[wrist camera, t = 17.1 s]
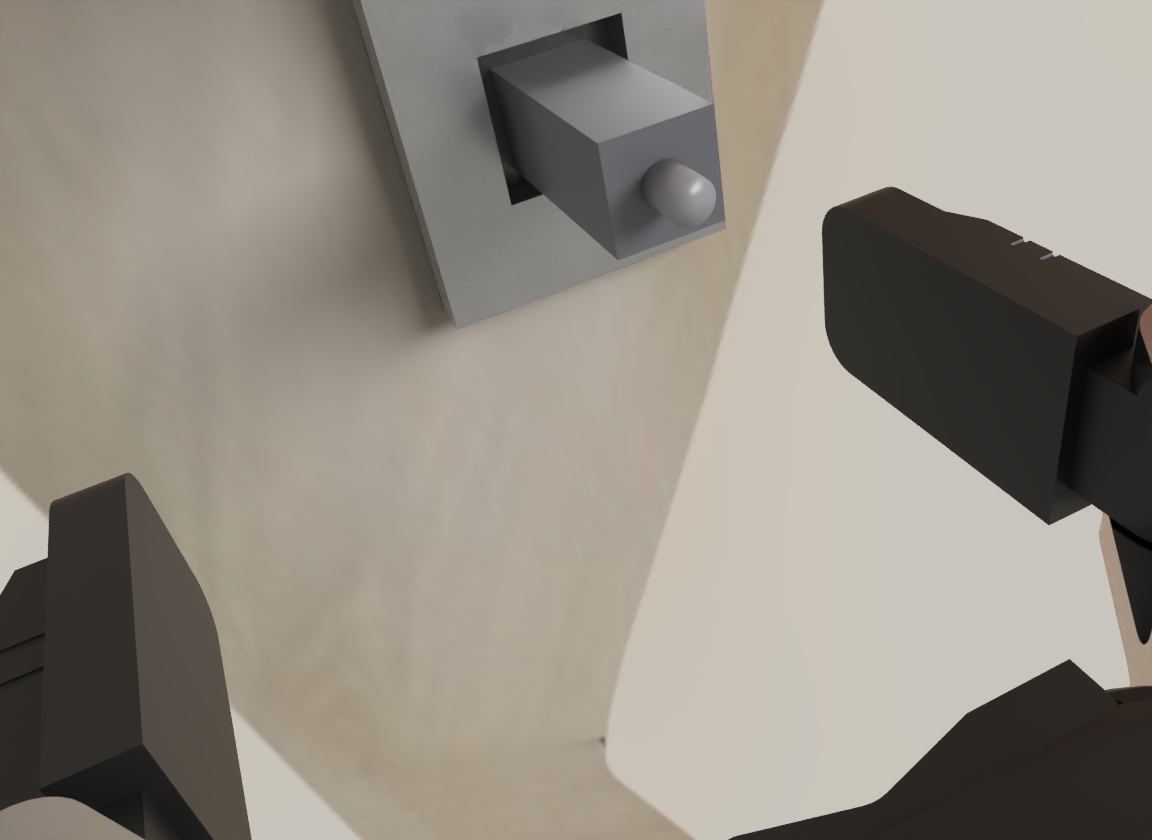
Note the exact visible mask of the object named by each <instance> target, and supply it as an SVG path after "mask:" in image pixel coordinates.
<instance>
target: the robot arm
mask: <svg viewBox="0 0 1152 840" xmlns="http://www.w3.org/2000/svg"><path fill="white" fill-rule="evenodd" d="M822 242H823V243H822V245H823V276H824V307H825V328H826V332H827V336H828V340H829V343H830V346H831V348H832V350H833V352H834V354H835V356H836V357H837V359H838V360H839V362H840V363H841V365H842V366H843V367H844V368H845V369H846V370H847V371H848V372H849V373H850V374H852V375H853V376H854V377H856V378H857V379H858V380H860V381H861V382H862V383H863V384H865V385H866V386H867V387H869V388H870V389H871V390H873V391H874V392H875V393H877V394H878V395H879V396H881V397H882V398H883V399H885V400H886V401H887V402H888V403H890V404H891V405H893V406H894V407H895V408H897V409H898V410H899V411H900V412H902V413H903V414H904V415H906V416H907V417H908V418H909V419H911V420H912V421H913V422H915V423H916V424H917V425H919V426H920V427H921V428H922V429H924V430H925V431H926V432H928V433H929V434H931V435H932V436H933V437H934V438H935V439H937V440H938V441H939V442H941V443H942V444H943V445H945V446H946V447H947V448H949V449H950V450H951V451H952V452H954V453H955V454H956V455H958V456H959V457H960V458H962V459H963V460H964V461H966V462H967V463H968V464H969V465H971V466H972V467H973V468H975V469H976V470H978V471H979V472H980V473H981V474H983V475H984V476H985V477H987V478H988V479H989V480H990V481H992V482H993V483H995V484H996V485H997V486H998V487H1000V488H1001V489H1002V490H1003V491H1005V492H1006V493H1007V494H1009V495H1010V496H1011V497H1013V498H1014V499H1015V500H1017V501H1018V502H1019V503H1021V504H1022V505H1023V506H1025V507H1026V508H1027V509H1028V510H1030V511H1031V512H1032V513H1034V514H1035V515H1036V516H1038V517H1039V518H1040V519H1041V520H1043V521H1044V522H1045V523H1047V524H1048V525H1050V524H1053V523H1054V522H1057V521H1059V520H1061V519H1063V518H1065V517H1067V516H1069V515H1071V514H1073V513H1075V512H1077V511H1079V510H1081V509H1083V508H1085V507H1087V506H1089V505H1091V504H1093V505H1094V506H1095V507H1097V508H1098V509H1100V510H1101V511H1102V512H1103V516H1102V521H1101V526H1100V531H1099V538H1100V544H1101V548H1102V553H1103V557H1104V562H1105V566H1106V571H1107V575H1108V580H1109V584H1110V589H1111V593H1112V597H1113V602H1114V607H1115V611H1116V615H1117V620H1118V624H1119V629H1120V633H1121V638H1122V642H1123V647H1124V651H1125V656H1126V660H1127V664H1128V670H1129V675H1130V687H1126V688H1116V689H1109V690H1104V689H1103V688H1102V687H1100V686H1099V685H1098V684H1097V683H1096V682H1095V681H1094V680H1093V679H1091V678H1090V677H1089V676H1088V675H1087V674H1086V673H1085V672H1083V671H1082V670H1081V669H1080V668H1079V667H1078V666H1077V665H1076V664H1074V663H1073V662H1072V661H1071V660H1070V659H1069V660H1067V661H1065V662H1063V663H1061V664H1059V665H1058V666H1056V667H1054V668H1052V669H1050V670H1048V671H1047V672H1045V673H1042V674H1041V675H1039V676H1037V677H1035V678H1033V679H1031V680H1029V681H1027V682H1026V683H1024V684H1022V685H1020V686H1018V687H1016V688H1014V689H1012V690H1010V691H1008V692H1007V693H1005V694H1003V695H1001V696H999V697H997V698H995V699H993V700H991V701H990V702H988V703H986V704H984V705H982V706H980V707H978V708H976V709H975V710H973V711H971V712H969V713H967V714H966V715H965V716H964V717H963V718H962V719H961V720H960V721H959V722H958V723H957V724H956V725H955V726H954V727H953V728H952V729H951V730H950V731H949V732H948V733H947V734H946V735H945V736H944V737H943V738H942V739H941V740H940V741H939V742H938V743H937V744H936V745H935V746H934V747H933V748H932V749H931V750H930V751H929V752H928V753H927V754H926V755H925V756H924V757H923V758H922V759H921V760H920V761H919V762H918V763H917V764H916V765H915V766H914V767H913V768H912V769H911V770H910V771H909V772H908V773H907V774H906V775H905V776H904V777H903V778H902V779H901V780H899V781H898V783H896V784H895V785H894V787H892V789H891V790H889V791H888V792H887V793H886V794H885V795H884V796H883V797H881V798H880V799H878V800H877V801H875V802H873V803H871V804H868V805H865V806H861V807H857V808H853V809H849V810H845V811H840V812H836V813H832V814H828V815H824V816H819V817H815V818H811V819H806V820H802V821H798V822H794V823H790V824H785V825H782V826H777V827H773V828H769V829H764V830H760V831H756V832H752V833H748V834H743V835H739V836H736V837H733V838H731V839H729V840H1152V299H1150V298H1148V297H1146V296H1144V295H1142V294H1140V293H1138V292H1136V291H1134V290H1131V289H1129V288H1127V287H1125V286H1123V285H1121V284H1119V283H1117V282H1115V281H1113V280H1111V279H1109V278H1107V277H1104V276H1102V275H1100V274H1098V273H1096V272H1094V271H1092V270H1090V269H1088V268H1086V267H1083V266H1082V265H1080V264H1077V263H1075V262H1073V261H1071V260H1069V259H1067V258H1065V257H1063V256H1061V255H1059V256H1056V257H1054V256H1053V254H1052V251H1050V250H1048V249H1046V248H1044V247H1042V246H1040V245H1038V244H1036V243H1034V242H1032V241H1028V242H1026V243H1025V242H1024V240H1023V237H1021V236H1019V235H1017V234H1015V233H1013V232H1011V231H1009V230H1007V229H1005V228H1003V227H1001V226H998V225H996V224H994V223H992V222H990V221H988V220H984V219H980V218H975V217H970V216H964V215H960V214H955V213H950V212H945V211H942V210H940V209H938V208H936V207H934V206H932V205H930V204H928V203H926V202H924V201H922V200H920V199H918V198H916V197H914V196H912V195H910V194H908V193H906V192H904V191H902V190H900V189H898V188H895V187H886V188H883V189H880V190H878V191H875V192H872V193H870V194H867V195H865V196H862V197H859V198H857V199H854V200H851V201H849V202H846V203H844V204H841V205H838V206H836V207H833V208H832V209H830V210H829V211H828V212H827V214H826V215H825V218H824V221H823V226H822ZM0 840H252V839H251V833H250V828H249V821H248V815H247V809H246V803H245V797H244V791H243V785H242V779H241V773H240V768H239V761H238V755H237V749H236V742H235V736H234V730H233V724H232V718H231V712H230V706H229V700H228V694H227V688H226V682H225V676H224V670H223V664H222V658H221V652H220V646H219V639H218V634H217V630H216V626H215V623H214V619H213V616H212V613H211V611H210V608H209V605H208V603H207V600H206V598H205V596H204V593H203V591H202V589H201V587H200V585H199V583H198V581H197V579H196V578H195V576H194V574H193V572H192V571H191V569H190V567H189V566H188V564H187V562H186V560H185V559H184V557H183V555H182V554H181V552H180V550H179V549H178V547H177V545H176V543H175V542H174V540H173V538H172V537H171V535H170V533H169V531H168V530H167V528H166V526H165V525H164V523H163V521H162V519H161V518H160V516H159V514H158V513H157V511H156V509H155V508H154V506H153V504H152V502H151V501H150V499H149V497H148V496H147V494H146V492H145V491H144V489H143V487H142V486H141V484H140V483H139V482H138V480H137V479H136V478H135V477H134V476H133V475H132V474H130V473H126V474H123V475H121V476H118V477H115V478H113V479H110V480H107V481H105V482H102V483H99V484H97V485H94V486H91V487H89V488H86V489H84V490H81V491H78V492H76V493H73V494H70V495H68V496H65V497H62V498H60V499H57V500H55V501H53V502H52V503H51V505H50V511H49V539H48V558H46V559H43V560H41V561H38V562H36V563H33V564H31V565H28V566H25V567H23V568H20V569H18V570H15V571H14V573H13V575H12V576H11V578H10V580H9V582H8V583H7V585H6V586H5V588H4V590H3V591H2V593H1V595H0Z"/></svg>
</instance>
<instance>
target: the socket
mask: <svg viewBox="0 0 1152 840" xmlns="http://www.w3.org/2000/svg"><path fill="white" fill-rule="evenodd" d="M352 3H353V7H354V10H355V13H356V17H357V20H358V23H359V27H360V30H361V33H362V37H363V40H364V43H365V47H366V50H367V53H368V57H369V60H370V63H371V67H372V70H373V73H374V77H375V80H376V83H377V87H378V90H379V93H380V97H381V100H382V103H383V107H384V110H385V113H386V117H387V120H388V123H389V127H390V130H391V134H392V137H393V140H394V144H395V147H396V150H397V154H398V157H399V160H400V164H401V167H402V170H403V174H404V177H405V180H406V184H407V187H408V190H409V194H410V197H411V200H412V204H413V207H414V210H415V214H416V217H417V220H418V224H419V227H420V230H421V234H422V237H423V240H424V244H425V247H426V250H427V254H428V257H429V260H430V264H431V267H432V270H433V274H434V277H435V280H436V284H437V287H438V290H439V294H440V297H441V300H442V304H443V307H444V310H445V312H446V314H447V315H448V316H449V318H450V319H451V321H452V322H453V324H454V325H455V326H456V328H457V329H459V328H462V327H464V326H467V325H470V324H472V323H475V322H478V321H480V320H483V319H486V318H488V317H491V316H494V315H496V314H499V313H502V312H504V311H507V310H510V309H512V308H515V307H518V306H520V305H523V304H526V303H529V302H531V301H534V300H537V299H539V298H542V297H545V296H547V295H550V294H553V293H555V292H558V291H561V290H563V289H566V288H569V287H571V286H574V285H577V284H579V283H582V282H585V281H587V280H590V279H593V278H595V277H598V276H601V275H603V274H606V273H609V272H611V271H614V270H617V269H619V268H622V267H625V266H627V265H630V264H633V263H635V262H638V261H641V260H643V259H646V258H649V257H651V256H654V255H657V254H659V253H662V252H665V251H667V250H670V249H673V248H675V247H678V246H681V245H683V244H686V243H689V242H691V241H694V240H697V239H699V238H702V237H705V236H708V235H710V234H713V233H716V232H718V231H721V230H724V229H726V224H725V221H722V222H720V223H717V224H714V225H712V226H709V227H706V228H704V229H701V230H698V231H696V232H693V233H690V234H688V235H685V236H682V237H680V238H677V239H674V240H672V241H669V242H666V243H664V244H661V245H658V246H656V247H653V248H650V249H648V250H645V251H642V252H640V253H637V254H634V255H632V256H629V257H626V258H623V259H621V260H617V259H616V258H615V257H614V256H612V255H611V254H610V253H609V252H608V251H607V250H606V249H605V248H603V247H602V246H601V245H600V244H599V243H598V242H597V241H595V240H594V239H593V238H592V237H591V236H590V235H589V234H588V233H586V232H585V231H584V230H583V229H582V228H581V227H580V226H578V225H577V224H576V223H575V222H574V221H573V220H572V219H571V218H569V217H568V216H567V215H566V214H565V213H564V212H563V211H562V210H560V209H559V208H558V207H557V206H556V205H555V204H554V203H552V202H551V201H550V200H549V199H548V198H547V197H546V196H545V195H543V194H542V193H541V192H540V191H539V190H538V189H537V188H535V187H534V186H533V185H532V184H531V183H530V182H529V181H528V180H526V179H525V178H524V177H523V176H522V175H521V174H520V173H519V172H517V171H516V170H515V169H514V168H513V165H512V160H511V156H510V152H509V147H508V143H507V139H506V134H505V130H504V126H503V121H502V117H501V113H500V109H499V104H498V100H497V96H496V91H495V87H494V83H493V78H492V74H491V70H490V69H492V68H495V67H499V66H502V65H505V64H508V63H511V62H514V61H517V60H521V59H524V58H527V57H530V56H533V55H536V54H539V53H543V52H546V51H549V50H552V49H555V48H558V47H561V46H565V45H568V44H571V43H574V42H577V41H580V40H583V39H587V40H589V41H591V42H593V43H595V44H597V45H599V46H601V47H603V48H605V49H607V50H609V51H611V52H613V53H614V54H616V55H618V56H620V57H622V58H624V59H626V60H628V61H630V62H632V63H634V64H636V65H638V66H640V67H642V68H644V69H646V70H648V71H650V72H652V73H654V74H656V75H658V76H660V77H662V78H664V79H666V80H668V81H670V82H672V83H674V84H676V85H678V86H680V87H682V88H684V89H686V90H688V91H690V92H692V93H694V94H696V95H698V96H700V97H702V98H704V99H706V100H708V101H710V102H712V103H714V99H713V89H712V78H711V68H710V57H709V47H708V36H707V26H706V16H705V5H704V0H352ZM714 111H715V109H714ZM715 121H716V120H715ZM716 131H717V130H716Z"/></svg>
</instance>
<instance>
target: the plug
mask: <svg viewBox="0 0 1152 840" xmlns="http://www.w3.org/2000/svg"><path fill="white" fill-rule="evenodd" d="M490 70H491V74H492V78H493V83H494V87H495V91H496V96H497V100H498V104H499V109H500V113H501V117H502V121H503V126H504V130H505V134H506V139H507V143H508V147H509V152H510V156H511V160H512V165H513V168H514V169H515V170H516V171H517V172H519V173H520V174H521V175H522V176H523V177H524V178H525V179H526V180H528V181H529V182H530V183H531V184H532V185H533V186H534V187H535V188H537V189H538V190H539V191H540V192H541V193H542V194H543V195H545V196H546V197H547V198H548V199H549V200H550V201H551V202H552V203H554V204H555V205H556V206H557V207H558V208H559V209H560V210H562V211H563V212H564V213H565V214H566V215H567V216H568V217H569V218H571V219H572V220H573V221H574V222H575V223H576V224H577V225H578V226H580V227H581V228H582V229H583V230H584V231H585V232H586V233H588V234H589V235H590V236H591V237H592V238H593V239H594V240H595V241H597V242H598V243H599V244H600V245H601V246H602V247H603V248H605V249H606V250H607V251H608V252H609V253H610V254H611V255H612V256H614V257H615V258H616V259H617V260H621V259H623V258H626V257H629V256H632V255H634V254H637V253H640V252H642V251H645V250H648V249H650V248H653V247H656V246H658V245H661V244H664V243H666V242H669V241H672V240H674V239H677V238H680V237H682V236H685V235H688V234H690V233H693V232H696V231H698V230H701V229H704V228H706V227H709V226H712V225H714V224H717V223H720V222H722V221H725V212H724V202H723V192H722V182H721V172H720V161H719V151H718V141H717V131H716V121H715V111H714V103H712V102H710V101H708V100H706V99H704V98H702V97H700V96H698V95H696V94H694V93H692V92H690V91H688V90H686V89H684V88H682V87H680V86H678V85H676V84H674V83H672V82H670V81H668V80H666V79H664V78H662V77H660V76H658V75H656V74H654V73H652V72H650V71H648V70H646V69H644V68H642V67H640V66H638V65H636V64H634V63H632V62H630V61H628V60H626V59H624V58H622V57H620V56H618V55H616V54H614V53H613V52H611V51H609V50H607V49H605V48H603V47H601V46H599V45H597V44H595V43H593V42H591V41H589V40H587V39H583V40H580V41H577V42H574V43H571V44H568V45H565V46H561V47H558V48H555V49H552V50H549V51H546V52H543V53H539V54H536V55H533V56H530V57H527V58H524V59H521V60H517V61H514V62H511V63H508V64H505V65H502V66H499V67H495V68H492V69H490Z"/></svg>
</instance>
